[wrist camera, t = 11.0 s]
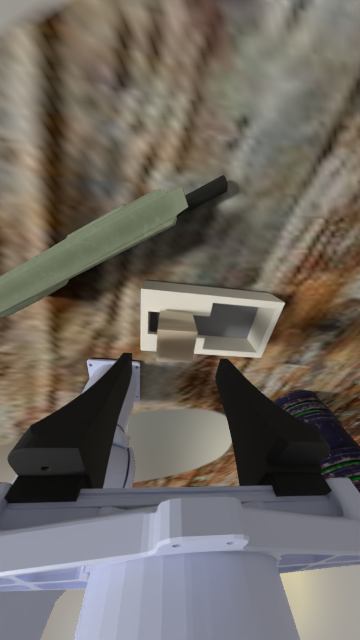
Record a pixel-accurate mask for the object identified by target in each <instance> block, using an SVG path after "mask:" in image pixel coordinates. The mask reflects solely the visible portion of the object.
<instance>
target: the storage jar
mask: <svg viewBox="0 0 360 640" xmlns="http://www.w3.org/2000/svg"><path fill="white" fill-rule="evenodd" d="M274 403H275V404H277V405H278V406H279V407H281V408H282V409H284V410H285V411H287V412H288V413H290V414H291V415H293V416H294V417H296V418H298V419H299V420H301V421H303V422H304V423H306V424H308V425H310V426H311V427H313V428H315V429H317V430H318V431H319V432H320V434H321V435H322V436H323V438H324V439H325V440H326V442H327V443H328V445H329V446H330V452H329V454H328V455H327V456H326V457H325V458H324V459H323V460H322V461H321V462H320V463H319V465H320V466H321V468H322V469H323V472H322V473H321V474H322V476H323V477H324V479H328V478H349V479H350V480H351V482H352V483H353V485H354V486H355V487H356V489H357V490H358V491H359V493H360V446H359V445H358V444H357V443H356V442H355V440H354V439H353V438H352V437H351V436H350V435H349V434H348V433H347V431H346V430H345V429H344V428H343V427H342V425H341V422H340V421H339V420H338V419H337V418H336V417H335V416H334V414H333V413H332V411H331V410H330V409H329V408H328V407H327V406H326V405H324V404H323V402H322V401H320V400H319V398H318V397H317V396H316V395H315V394H314V393H313V392H311V391H307V390H297V391H292V392H289V393H286V394H284V395H282V396H280V397H279V398H278V399H276V400H275V401H274Z"/></svg>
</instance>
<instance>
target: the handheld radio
mask: <svg viewBox="0 0 360 640" xmlns="http://www.w3.org/2000/svg"><path fill="white" fill-rule="evenodd" d="M226 191H227V180H226V178H225V176H224V175H223V176H221V177H219V178H217V179H215V180H213V181H211V182H210V183H208V184H206V185H204V186H202V187H200V188H198V189H196V190H195V191H193V192H191V193H189V194H187V195H185V194H184V191H183V188H179V189H176V190H173V191H171V192H167V191H166V190H164V189H158V190H154V191H152V192H150V193H148V194H146V195H144V196H142V197H140V198H139V199H137V200H135V201H133V202H131V203H130V204H128V205H125V204H122V205H121V206H119V207H118V208H116V209H114V210H112V211H110V212H109V213H107V214H105V215H103V216H102V217H100V218H98V219H96V220H94V221H93V222H91V223H89V224H87V225H86V226H84V227H82V228H80V229H78V230H77V231H75V232H73V233H71V234H70V235H67V239H65V240H63V241H61V242H59V243H58V244H56V245H54V246H53V247H51V248H50V249H48V250H46V251H44V252H43V253H41V254H39V255H37V256H36V257H34V258H32V259H30V260H29V261H27V262H25V263H23V264H22V265H20V266H18V267H16V268H15V269H13V270H11V271H9V272H8V273H6V274H4V275H2V276H1V277H0V317H4V316H9V315H11V314H13V313H15V312H17V311H19V310H21V309H23V308H25V307H27V306H29V305H31V304H33V303H35V302H37V301H39V300H41V299H43V298H44V297H46V296H48V295H49V294H51V293H53V292H55V291H56V290H58V289H60V288H61V287H63V286H65V285H67V283H68V282H69V279H71V278H73V277H74V276H76V275H78V274H80V273H82V272H84V271H86V270H88V269H90V268H92V267H94V266H96V265H98V264H100V263H102V262H104V261H106V260H108V259H110V258H112V257H114V256H115V255H117V254H119V253H121V252H123V251H125V250H127V249H129V248H131V247H133V246H135V245H137V244H139V243H141V242H143V241H145V240H147V239H149V238H151V237H153V236H155V235H156V234H158V233H160V232H162V231H164V230H166V229H168V228H170V227H172V226H174V225H175V223H176V220H177V217H178V216H180V215H181V214H182V213H184V212H186V211H188V210H192V209H194V208H196V207H198V206H199V205H201V204H203V203H205V202H207V201H209V200H211V199H213V198H215V197H217V196H219V195H221V194H223V193H224V192H226Z"/></svg>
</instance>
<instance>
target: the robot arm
mask: <svg viewBox="0 0 360 640" xmlns="http://www.w3.org/2000/svg"><path fill="white" fill-rule="evenodd" d="M91 364H92V365H91ZM87 366H88V371H89V376H90V379H89V381H88V383H87V385H86V386H85V388H84V390H83V392H82V393H81V395H79V396H78V397H77V398H75V399H74V400H73V401H71V402H70V403H68V404H67V405H65V406H64V407H62V408H61V409H59V410H57V411H56V412H54V413H52V414H51V415H49V416H47V417H45V418H44V419H42V420H40V421H38V422H37V423H35V424H33V425H31V426H30V428H29V429H28V430H27V431H26V432H25V433H24V435H23V436H22V437H21V439H20V440H19V441H18V443H17V444H16V446H15V447H14V448H13V450H12V451H11V452H10V454H9V455H8V462H9V464H10V466H11V467H12V468H13V470H14V471H15V472H16V473H17V475H16V477H15V479H14V480H13V482H12V484H10V483H5V482H0V640H40V638H41V636H42V633H43V631H44V628H45V626H46V624H47V621H48V619H49V616H50V614H51V611H52V609H53V606H54V604H55V602H56V600H57V599H58V598H59V597H60V596H61V595H62V594H63V593H64V592H65V591H66V590H67V589H86V591H85V596H84V600H83V604H82V608H81V612H80V616H79V621H78V625H77V629H76V633H75V637H74V640H300V638H299V635H298V631H297V629H296V625H295V622H294V619H293V616H292V613H291V609H290V606H289V603H288V600H287V597H286V594H285V590H284V587H283V584H282V581H281V578H280V575H279V574H280V573H288V572H296V571H304V570H313V569H321V568H330V567H340V566H349V565H360V493H359V491H358V490H357V489H356V487H355V486H354V485H353V483H352V482H351V480H350V479H349V478H328V479H324V477H323V476H322V474H321V473H322V472H323V469H322V468H321V466H320V465H319V463H320V462H321V461H322V460H323V459H324V458H325V457H326V456H327V455H328V454H329V452H330V446H329V445H328V443H327V442H326V440H325V439H324V438H323V436H322V435H321V434H320V432H319V431H318V430H317V429H315V428H313V427H311V426H310V425H308V424H306V423H304V422H303V421H301V420H299V419H298V418H296V417H294V416H293V415H291V414H290V413H288V412H287V411H285V410H284V409H282V408H281V407H279V406H278V405H277V404H275V403H274V402H272V401H271V400H270V399H269V398H267V397H266V396H265V395H264V394H262V393H261V392H260V391H259V390H258V389H257V388H256V387H255V386H253V385H252V384H251V383H250V382H249V381H248V380H247V379H246V378H245V377H244V376H243V375H242V374H241V373H240V372H239V370H238V369H237V368H236V367H235V366H234V365H233V364H232V363H231V362H230V361H229V360H228V359H220V362H219V366H218V369H217V372H216V376H215V378H216V384H217V388H218V392H219V395H220V398H221V401H222V404H223V407H224V410H225V413H226V417H227V420H228V424H229V429H230V433H231V438H232V443H233V448H234V454H235V460H236V465H237V472H238V478H239V485H240V486H214V487H158V488H132V485H133V481H134V475H135V457H134V452H133V450H132V449H131V448H130V447H128V444H129V440H130V437H129V436H127V435H126V434H127V430H128V426H129V421H130V417H131V412H132V408H133V403H134V402H139V401H140V362H138V361H132V353H123V354H122V355H121V356H120V358H119V359H118V360H106V359H88V361H87ZM136 366H138V367H136Z"/></svg>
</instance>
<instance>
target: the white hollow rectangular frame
mask: <svg viewBox="0 0 360 640" xmlns="http://www.w3.org/2000/svg"><path fill="white" fill-rule="evenodd" d="M284 304H285V302H283V301H281V300H280V299H278V298H277V297H275V296H273V295H272V294H270V293H268V292H260V291H250V290H241V289H231V288H221V287H212V286H202V285H192V284H183V283H173V282H163V281H154V280H146V281H145V282H144V284H143V286H142V288H141V350H144V351H156V349H157V330H158V322H159V321H158V319H157V312H160V310H162V311H175V312H188V313H192V314H193V317H194V321H195V324H196V328H197V331H198V333H197V338H196V344H195V349H194V354H208V355H224V356H240V357H257V358H261V356H262V354H263V352H264V349H265V347H266V345H267V343H268V340H269V338H270V336H271V334H272V331H273V329H274V327H275V325H276V322H277V320H278V318H279V316H280V313H281V311H282V309H283V307H284Z"/></svg>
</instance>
